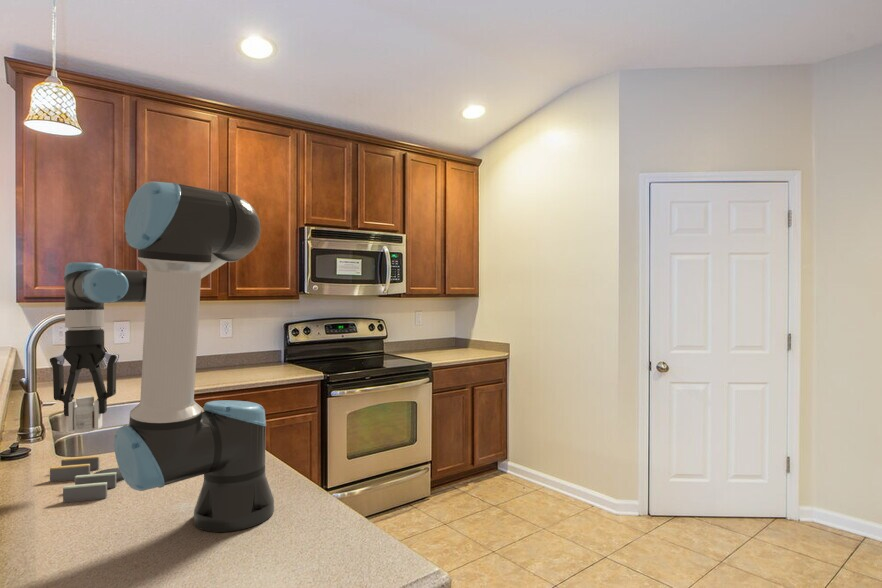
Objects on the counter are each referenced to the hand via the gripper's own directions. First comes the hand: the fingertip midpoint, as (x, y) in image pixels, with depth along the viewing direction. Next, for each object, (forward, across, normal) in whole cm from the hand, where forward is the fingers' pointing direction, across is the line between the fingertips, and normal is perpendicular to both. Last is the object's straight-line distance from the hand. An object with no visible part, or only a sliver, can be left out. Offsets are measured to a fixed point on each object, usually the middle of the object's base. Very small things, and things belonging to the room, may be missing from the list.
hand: (85, 428), depth 119 cm
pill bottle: (+1, 0, 0) cm, 1 cm away
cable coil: (+14, -4, -4) cm, 15 cm away
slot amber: (+13, +6, -10) cm, 17 cm away
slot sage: (+14, -3, +5) cm, 15 cm away
